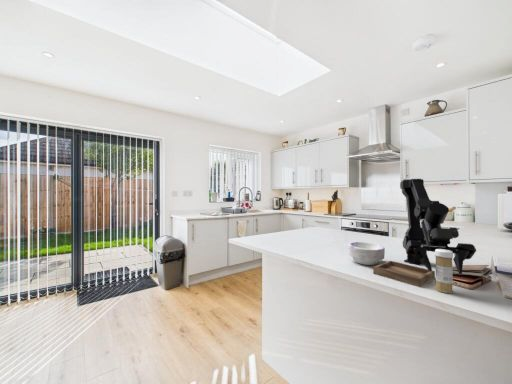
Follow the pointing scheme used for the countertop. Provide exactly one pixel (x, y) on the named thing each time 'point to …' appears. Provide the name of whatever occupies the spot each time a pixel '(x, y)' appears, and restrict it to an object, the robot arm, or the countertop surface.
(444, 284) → the sprinkles bottle
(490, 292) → the countertop surface
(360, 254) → the paper bowls
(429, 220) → the robot arm
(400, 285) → the countertop surface
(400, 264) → the walnut tray
